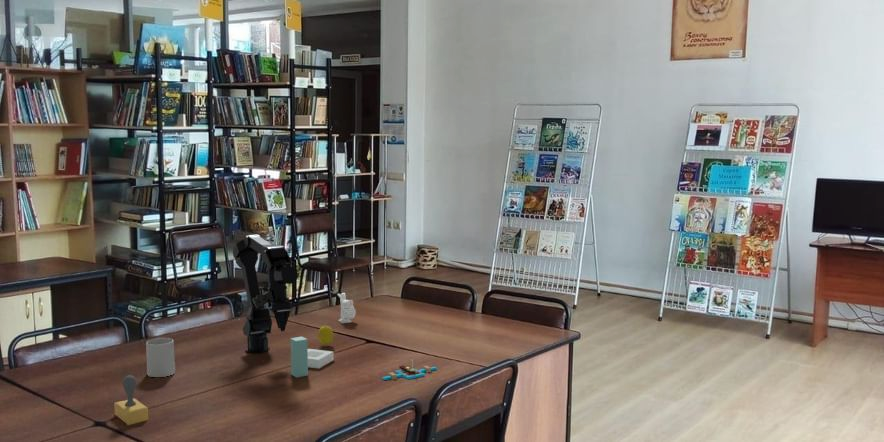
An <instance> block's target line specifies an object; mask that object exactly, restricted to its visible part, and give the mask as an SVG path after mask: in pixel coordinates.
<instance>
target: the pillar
mask: <svg viewBox="0 0 884 442" xmlns="http://www.w3.org/2000/svg"><path fill="white" fill-rule="evenodd" d="M289 341H290V374H291V376H293V377H295V378H301V377H307V376H309V367H308V350H307V349H308V338H306V337H304V336H297V337H290V340H289Z"/></svg>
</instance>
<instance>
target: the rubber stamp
mask: <svg viewBox="0 0 884 442" xmlns="http://www.w3.org/2000/svg"><path fill="white" fill-rule="evenodd" d="M122 386H123V390H124V392H125V394H126V396H127V399H126V400H122V401H120V400H119V401H116V402H114V404H113V405H114V415H115V416H116V417H118V418H119V420H121V421H122V422H124V423H125V424H126V425H127V426H130V425H133V424H137V423H141V422H145V421H149V409H148V407H147V406H146V405H144V404H143V403H141V402H140V400H138V399H136V398H133V397H134V393H135V391H136V388H137V379H136V377H135V376H134V375H130V374H128V375H126V376H125V377H123V380H122Z"/></svg>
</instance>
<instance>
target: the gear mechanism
mask: <svg viewBox="0 0 884 442" xmlns="http://www.w3.org/2000/svg"><path fill="white" fill-rule="evenodd" d="M413 365H414V361H413V360H411V367H410V366H405V365H399V367H398V368H399V370H398V369H397V370H395V373H394V372H393V371H392V372H388V376H387V375H386V376H381V378H382V381H387V380H397V378H401V377H402V378H404V379H406V380H412V379H417V378H420V377H421V378H422V377H425V372H426V373H431V372H432V371H435V370H437V369H438V368H437V367H436V366H432V367H430V366H428V365H423V366H422V369H421V368H420V369H417V368H415V367H413Z"/></svg>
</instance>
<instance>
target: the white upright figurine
mask: <svg viewBox="0 0 884 442" xmlns="http://www.w3.org/2000/svg"><path fill="white" fill-rule="evenodd" d="M337 297H338V298H339V299H340V300H339V303H340V318H339V319H338V322H339V323H341V324H350V323H352V322H353V321H352V319H354V318H355V317H356V313H357V311H356V308H355V307H354V300H352V299H350V300H349V299H347V298H346V292H342V293H337Z"/></svg>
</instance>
